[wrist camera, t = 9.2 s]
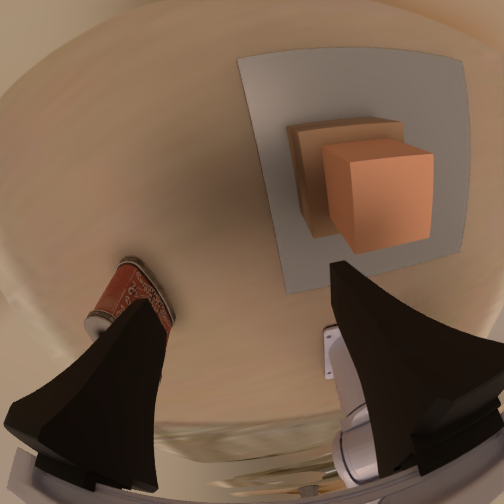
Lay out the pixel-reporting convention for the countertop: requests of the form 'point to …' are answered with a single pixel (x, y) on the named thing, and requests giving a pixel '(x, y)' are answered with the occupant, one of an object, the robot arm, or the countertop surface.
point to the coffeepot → (308, 491)
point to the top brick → (379, 192)
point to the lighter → (129, 297)
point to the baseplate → (353, 106)
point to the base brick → (311, 161)
